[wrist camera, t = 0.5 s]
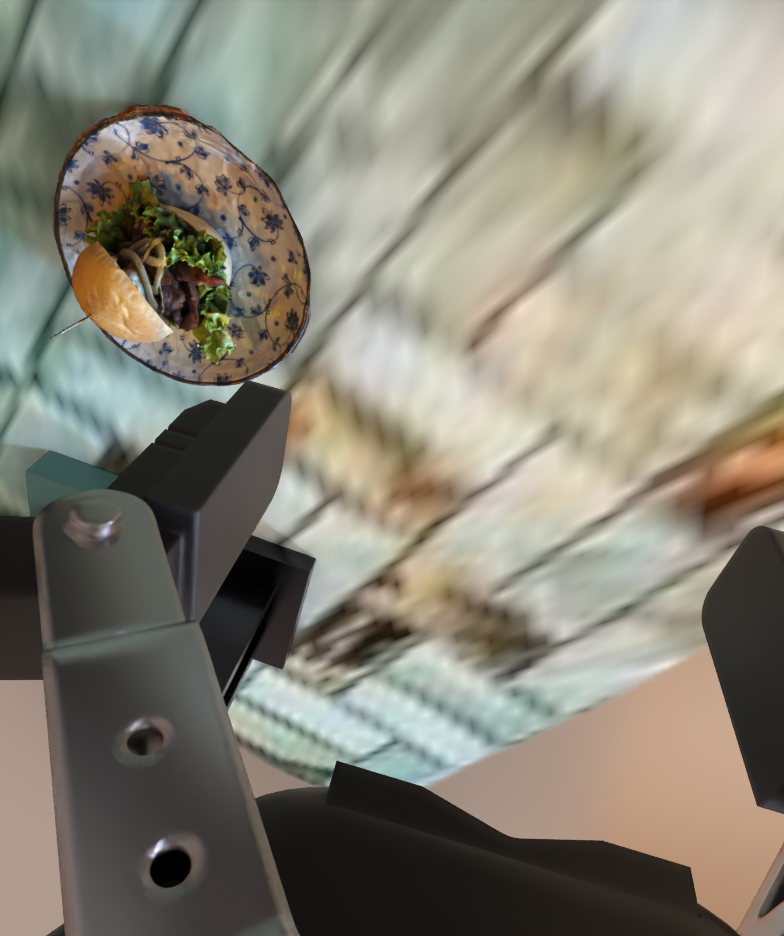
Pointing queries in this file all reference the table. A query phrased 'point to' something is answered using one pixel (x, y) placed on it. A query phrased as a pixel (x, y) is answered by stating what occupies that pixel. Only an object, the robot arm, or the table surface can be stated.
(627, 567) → the table surface
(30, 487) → the button box
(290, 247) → the burger
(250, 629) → the bracket
